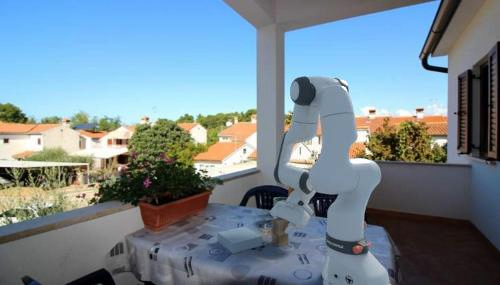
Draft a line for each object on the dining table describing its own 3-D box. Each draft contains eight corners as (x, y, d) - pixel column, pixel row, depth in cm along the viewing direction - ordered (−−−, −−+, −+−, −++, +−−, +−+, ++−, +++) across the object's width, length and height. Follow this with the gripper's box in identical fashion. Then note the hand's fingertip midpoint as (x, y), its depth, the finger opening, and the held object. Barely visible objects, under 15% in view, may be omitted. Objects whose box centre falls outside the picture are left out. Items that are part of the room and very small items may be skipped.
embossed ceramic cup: (272, 217, 147) (273, 196, 147) (290, 218, 147) (291, 197, 147) (273, 223, 137) (273, 201, 137) (293, 224, 137) (293, 201, 137)
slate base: (262, 245, 110) (262, 236, 110) (233, 253, 103) (233, 243, 103) (244, 234, 122) (244, 226, 122) (217, 241, 114) (217, 232, 114)
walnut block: (288, 243, 112) (288, 220, 112) (279, 246, 109) (279, 222, 109) (280, 239, 116) (280, 217, 116) (271, 242, 114) (271, 219, 113)
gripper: (277, 195, 125) (260, 219, 120) (308, 204, 108) (290, 232, 103) (284, 203, 127) (268, 226, 122) (316, 213, 110) (299, 241, 105)
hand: (278, 229), depth 112 cm, fingers open, 6 cm apart
